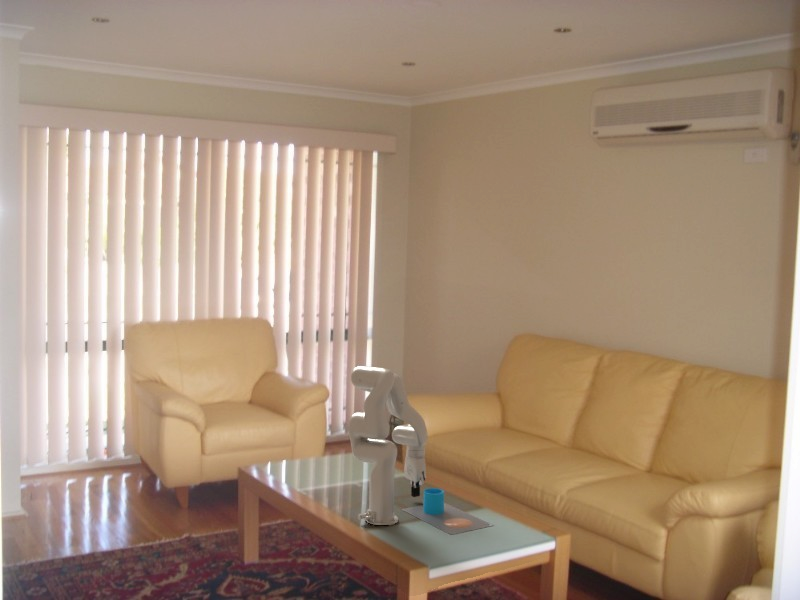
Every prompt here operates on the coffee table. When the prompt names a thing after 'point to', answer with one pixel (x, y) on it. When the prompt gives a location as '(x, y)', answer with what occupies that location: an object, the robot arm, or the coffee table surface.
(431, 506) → the mug
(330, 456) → the coffee table surface
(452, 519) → the mat
